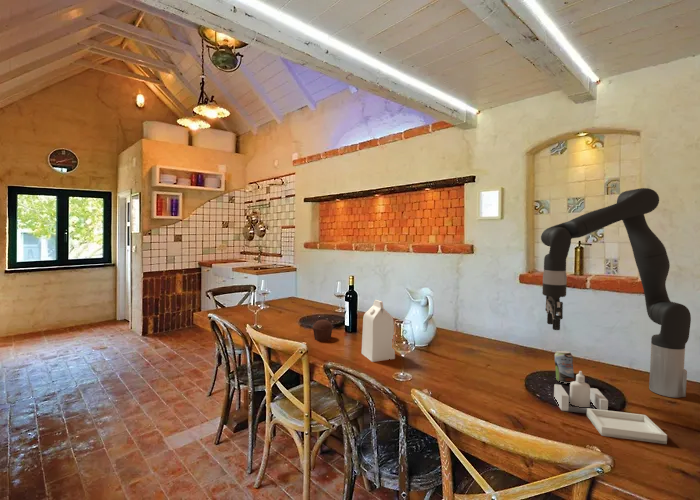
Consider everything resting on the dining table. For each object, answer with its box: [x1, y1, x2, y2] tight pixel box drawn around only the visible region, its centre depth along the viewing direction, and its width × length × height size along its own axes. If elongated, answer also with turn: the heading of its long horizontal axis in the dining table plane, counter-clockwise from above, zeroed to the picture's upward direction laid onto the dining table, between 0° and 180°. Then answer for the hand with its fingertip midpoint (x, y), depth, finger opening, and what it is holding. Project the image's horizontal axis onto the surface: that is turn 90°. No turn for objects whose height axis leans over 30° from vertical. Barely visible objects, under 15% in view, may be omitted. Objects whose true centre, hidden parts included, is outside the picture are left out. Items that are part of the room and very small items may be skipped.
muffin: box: [312, 319, 334, 342], centre depth 197 cm, size 12×11×10 cm
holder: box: [553, 383, 609, 414], centre depth 121 cm, size 13×9×5 cm
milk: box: [361, 299, 396, 363], centre depth 169 cm, size 12×12×26 cm
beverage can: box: [554, 350, 575, 384], centre depth 141 cm, size 6×7×12 cm
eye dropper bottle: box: [569, 370, 591, 408], centre depth 121 cm, size 4×6×12 cm
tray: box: [586, 407, 668, 445], centre depth 107 cm, size 16×12×2 cm
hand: (553, 326), depth 132 cm, fingers open, 8 cm apart
